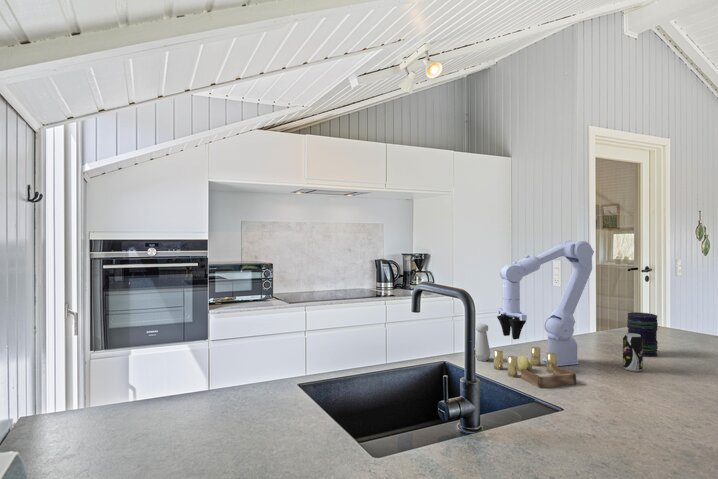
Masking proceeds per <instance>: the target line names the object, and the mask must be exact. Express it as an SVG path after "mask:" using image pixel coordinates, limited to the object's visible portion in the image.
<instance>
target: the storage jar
mask: <svg viewBox="0 0 718 479" xmlns="http://www.w3.org/2000/svg"><path fill="white" fill-rule="evenodd" d="M658 324H659V323H658V315H657V314H655V313H650V312H649V313H647V312H633V311H632V312H627V320H626V325H627V326H626V327H627V333H634V334H639V335H641V338H642V340H643V358H644V357H645V358H655V357H658V347H659V346H658V344H659V343H658V340H657V336H658V335H657V332H658V329H659V328H658Z"/></svg>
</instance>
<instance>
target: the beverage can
mask: <svg viewBox="0 0 718 479" xmlns="http://www.w3.org/2000/svg"><path fill="white" fill-rule="evenodd" d="M643 363H644V357H643V340H642V338H641V335H639V334H634V333H628V332H626V333H624V336H623V338H622V368H623V369H625V370H627V371H630V372H634V373H635V372H641V371H642V370H643V368H644V367H643V366H644V365H643Z"/></svg>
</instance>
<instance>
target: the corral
mask: <svg viewBox="0 0 718 479" xmlns="http://www.w3.org/2000/svg"><path fill="white" fill-rule="evenodd" d="M520 379H521V380H523V381H526V382H527V383H529V384H532V385H533V386H535V387H537V388H539V389H542V388H550V387H559V386H567V385H568V386H570V385H576V384H577V374H576V373H575V372H571V371H570V370H567V369H565V368H562V367H561V366H553V373H552V375H543V376H540V375H538V374H537V373H533V372H532V371H530V370H527V369H526V370H525V369H521V371H520Z"/></svg>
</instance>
